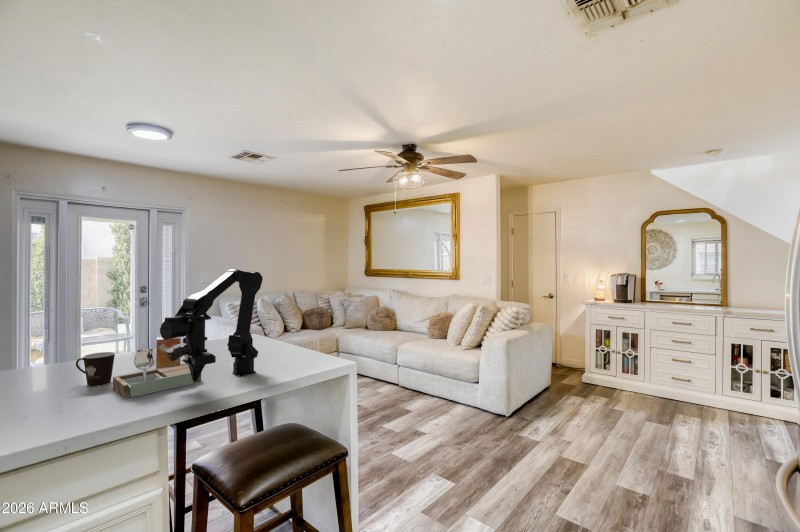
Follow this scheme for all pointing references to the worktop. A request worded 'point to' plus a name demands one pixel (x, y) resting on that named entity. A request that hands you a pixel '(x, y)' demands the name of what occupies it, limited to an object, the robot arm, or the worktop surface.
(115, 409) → the worktop surface
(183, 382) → the tray
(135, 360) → the wineglass
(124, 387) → the divided wooden organizer
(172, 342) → the small box
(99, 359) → the coffee mug
